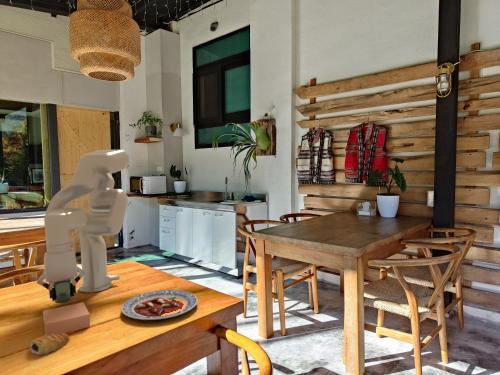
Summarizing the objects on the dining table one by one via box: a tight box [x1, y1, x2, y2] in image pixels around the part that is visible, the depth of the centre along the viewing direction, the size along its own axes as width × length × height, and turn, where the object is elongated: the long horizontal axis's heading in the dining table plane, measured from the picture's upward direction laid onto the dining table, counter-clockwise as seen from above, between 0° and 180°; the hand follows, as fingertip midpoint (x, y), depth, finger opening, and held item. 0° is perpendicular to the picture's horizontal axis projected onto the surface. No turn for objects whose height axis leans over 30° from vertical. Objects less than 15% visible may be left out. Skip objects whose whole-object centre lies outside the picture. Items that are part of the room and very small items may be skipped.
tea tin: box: [53, 279, 73, 304], centre depth 124 cm, size 6×6×7 cm
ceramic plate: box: [121, 289, 198, 321], centre depth 124 cm, size 26×26×3 cm
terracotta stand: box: [42, 301, 91, 335], centre depth 112 cm, size 12×12×4 cm
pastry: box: [29, 332, 70, 356], centre depth 98 cm, size 9×7×4 cm
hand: (63, 297), depth 125 cm, fingers closed on tea tin, 5 cm apart
